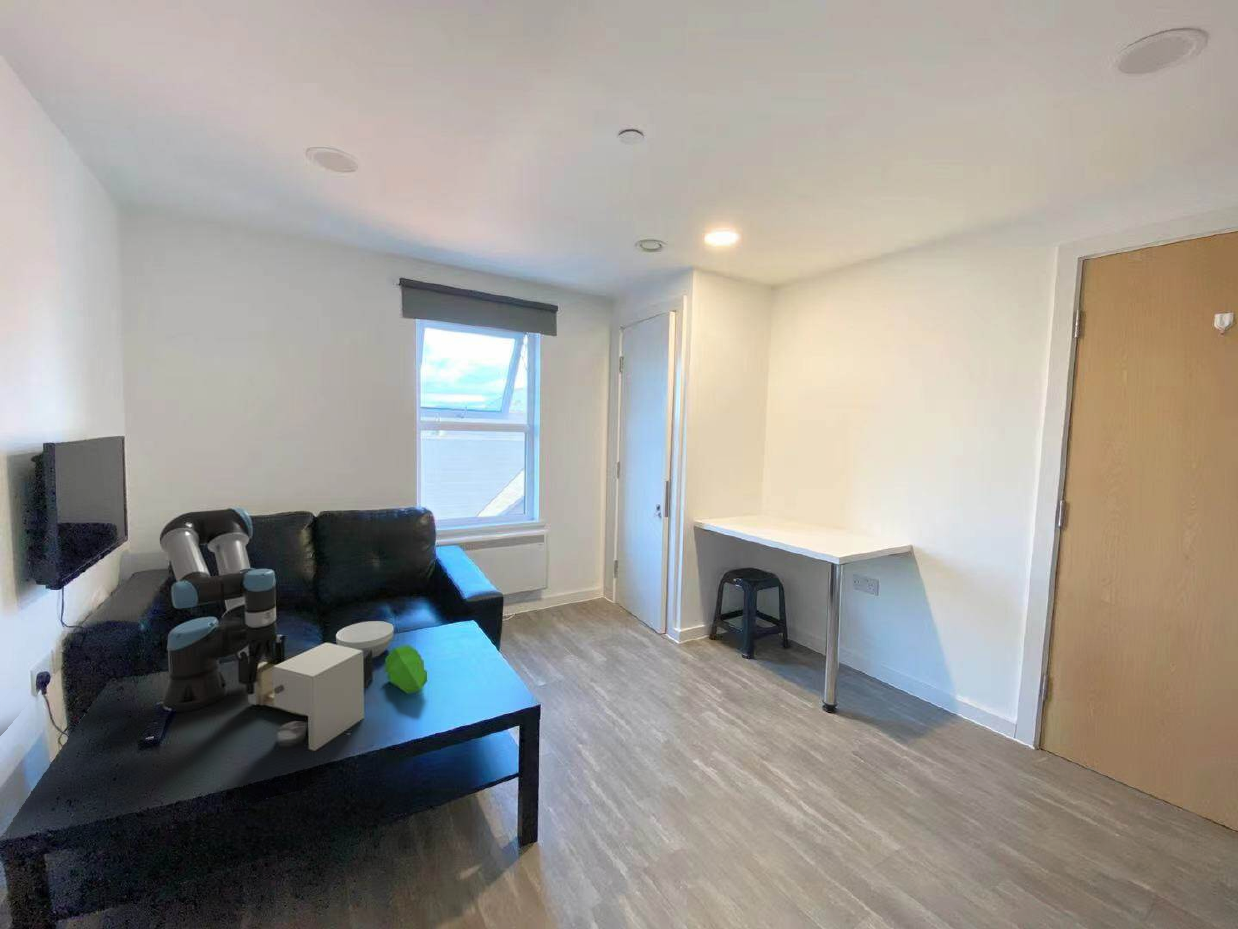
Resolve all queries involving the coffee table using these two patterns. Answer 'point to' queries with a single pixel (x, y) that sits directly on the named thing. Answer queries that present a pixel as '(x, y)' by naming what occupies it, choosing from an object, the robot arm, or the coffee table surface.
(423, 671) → the decorative tree
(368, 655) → the small box
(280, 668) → the cabinet
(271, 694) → the tan l-shaped block
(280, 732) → the grey rounded puck
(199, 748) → the coffee table surface
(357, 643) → the bowl
